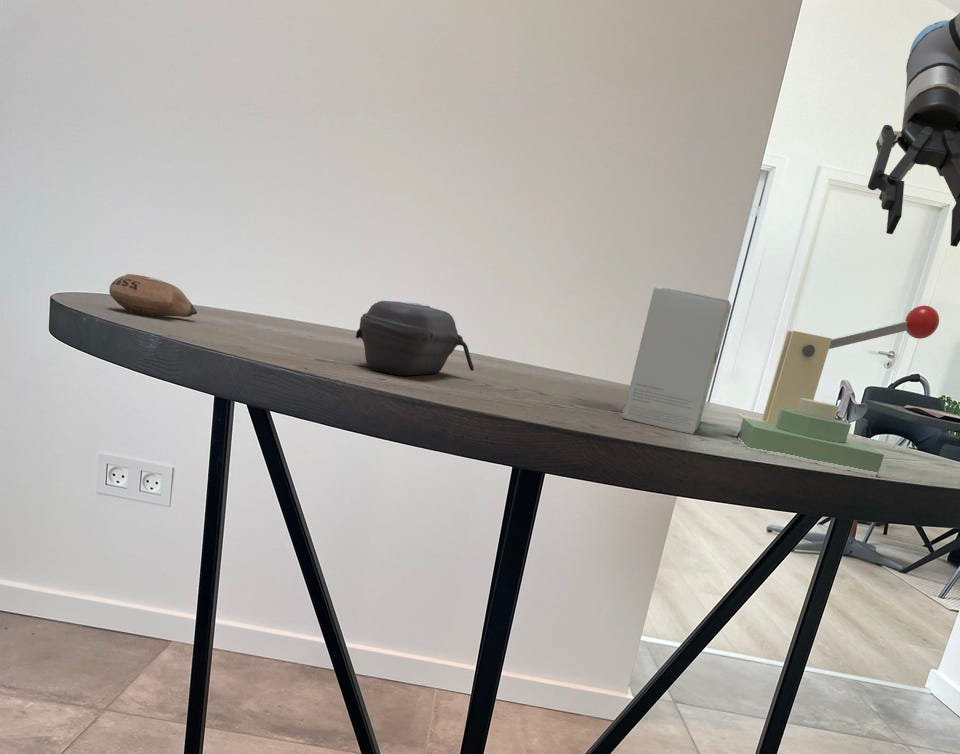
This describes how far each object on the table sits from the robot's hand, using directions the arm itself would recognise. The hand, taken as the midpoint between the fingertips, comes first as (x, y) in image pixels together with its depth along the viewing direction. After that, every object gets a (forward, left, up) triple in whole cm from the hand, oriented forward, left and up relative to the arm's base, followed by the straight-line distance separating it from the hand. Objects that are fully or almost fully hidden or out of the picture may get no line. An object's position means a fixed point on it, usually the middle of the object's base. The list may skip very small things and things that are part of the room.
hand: (926, 230), depth 118 cm
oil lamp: (+82, +34, -27) cm, 93 cm away
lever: (+5, +13, -15) cm, 21 cm away
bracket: (+12, +13, -27) cm, 32 cm away
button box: (+13, +37, -27) cm, 47 cm away
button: (+13, +37, -23) cm, 45 cm away
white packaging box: (+27, +35, -27) cm, 51 cm away
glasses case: (+53, +36, -27) cm, 69 cm away
